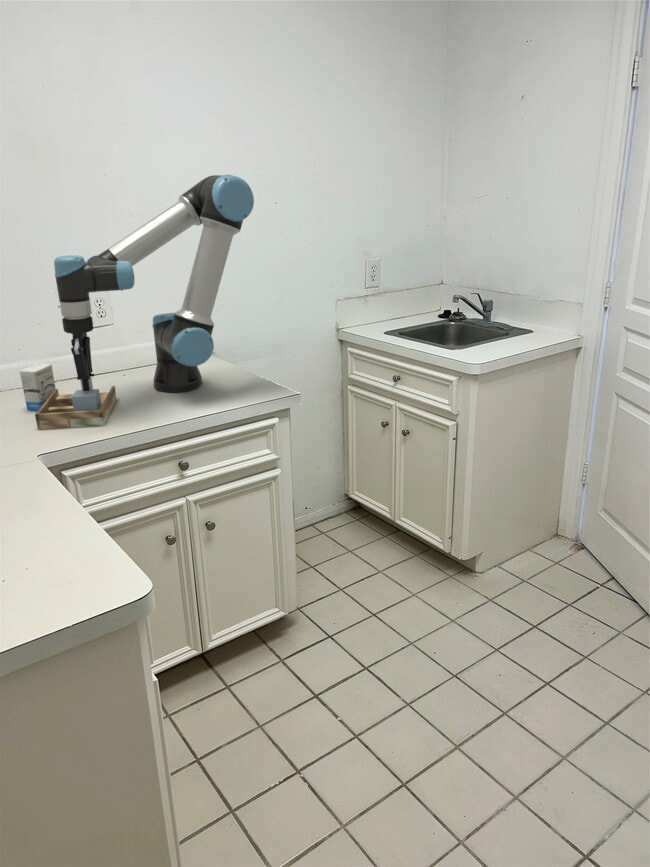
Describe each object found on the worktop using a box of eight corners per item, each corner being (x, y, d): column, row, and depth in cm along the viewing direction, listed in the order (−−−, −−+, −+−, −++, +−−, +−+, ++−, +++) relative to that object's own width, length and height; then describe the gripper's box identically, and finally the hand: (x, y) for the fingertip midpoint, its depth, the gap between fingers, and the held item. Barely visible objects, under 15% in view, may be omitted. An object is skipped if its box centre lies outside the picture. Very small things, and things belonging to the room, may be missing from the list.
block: (101, 406, 179) (98, 389, 177) (97, 413, 174) (94, 396, 172) (79, 407, 178) (76, 390, 177) (74, 414, 173) (71, 397, 171)
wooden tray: (116, 399, 192) (114, 386, 190) (104, 425, 172) (102, 410, 170) (57, 402, 190) (54, 389, 188) (37, 429, 169) (34, 414, 168)
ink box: (41, 411, 183) (34, 371, 178) (26, 410, 184) (18, 370, 179) (59, 401, 190) (52, 363, 186) (44, 400, 191) (37, 362, 187)
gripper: (67, 311, 175) (79, 393, 184) (56, 321, 164) (70, 409, 172) (96, 311, 176) (106, 392, 185) (86, 321, 165) (99, 407, 173)
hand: (89, 400), depth 179 cm, fingers closed
